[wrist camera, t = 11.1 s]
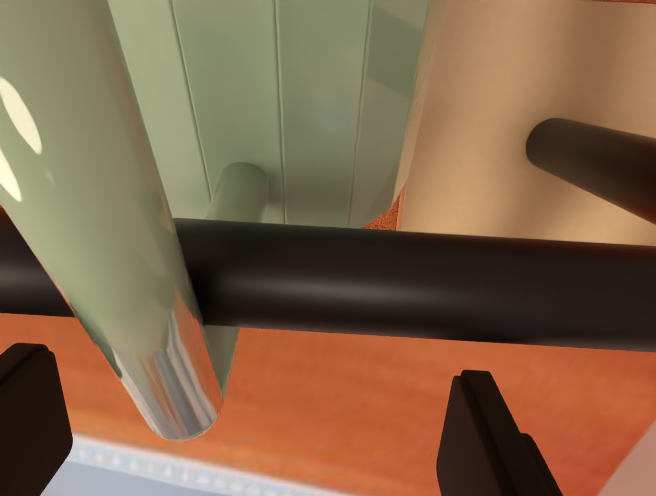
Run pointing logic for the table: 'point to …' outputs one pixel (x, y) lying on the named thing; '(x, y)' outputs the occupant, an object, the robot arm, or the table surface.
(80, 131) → the small mug
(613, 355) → the table surface
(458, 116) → the mug holder
